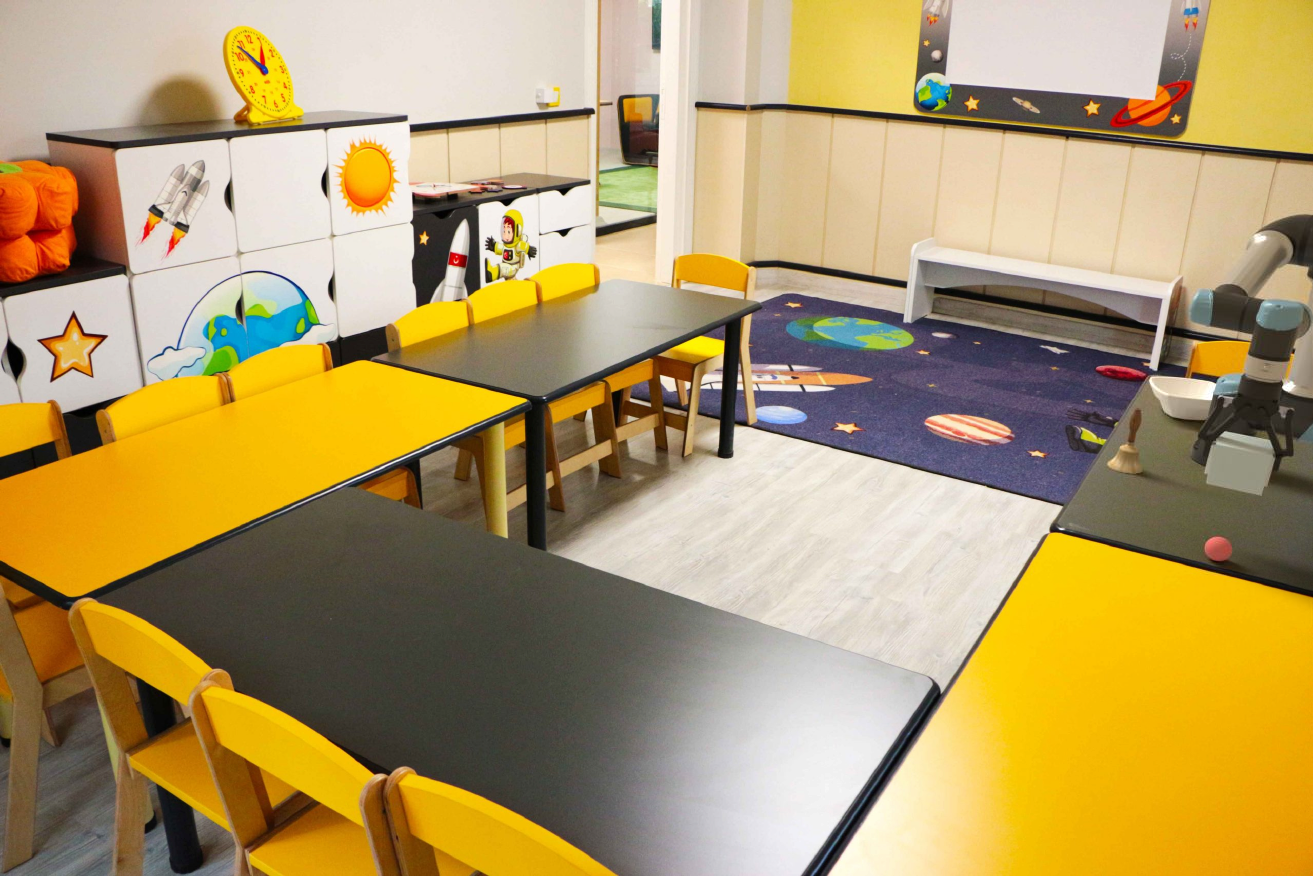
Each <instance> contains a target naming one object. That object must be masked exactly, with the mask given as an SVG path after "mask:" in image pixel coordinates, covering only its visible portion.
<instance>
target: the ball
mask: <svg viewBox="0 0 1313 876" xmlns="http://www.w3.org/2000/svg"><path fill="white" fill-rule="evenodd" d="M1204 553H1205V555H1206V556H1207V557H1208V558H1209V559H1210V560H1213V561H1216V562H1223V561H1225V560H1228V559H1229V558H1230V557H1231V556H1232V554H1233V547H1232V544H1231V542H1230V541H1229V540H1228V539H1227V538H1225V537H1221V536H1214V537H1211V538H1209V539H1208V540H1207V541H1206V542H1205V545H1204Z"/></svg>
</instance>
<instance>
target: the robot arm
mask: <svg viewBox="0 0 1313 876" xmlns="http://www.w3.org/2000/svg"><path fill="white" fill-rule="evenodd" d="M1245 250H1246V251H1245V252H1244V253H1243V255H1242V256H1240V259H1239V260H1237V262H1236V263H1235V264H1234V266H1233V267H1232V268H1231V269H1230V270H1229V271H1228V273H1227V274H1226V275H1225V277H1223V278H1222V280H1221V281H1220V282H1219V284H1218V285H1217V287H1215V289H1214V290H1213V289H1212V288H1209V289H1207V288H1205V289H1204V288H1201V289H1198V290H1196V292H1195V294H1194V295H1193V297H1192V299H1191V302H1190V306H1189V310H1188V312H1189V313H1188V318H1189V320H1190V321H1191V322H1192V323H1194V324H1198V325H1202V326H1205V327H1208V328H1209V327H1211V328H1215V329H1221V330H1227V331H1232V332H1238V333H1242V334H1246V335H1252V336H1251V340H1250V342H1249V343H1250V344H1249V347H1248V350H1247V354H1246V357H1245V362H1244V366H1243V369H1242V372H1243V373H1241V372H1236V373H1228V374H1224V375H1222V376H1220V377H1219V378H1218V379H1217V380H1216V383H1215V384H1216V386H1215V389H1214V391H1213V397H1212V401H1211V405H1210V409H1209V413H1208V417H1207V420H1205V422H1204V423H1203V425H1202V426H1201V427H1200V429H1199V431H1198V434H1197V438H1196V440H1195V442H1194V443H1193V445H1192V447H1191V449H1190V453H1189V454H1190V455H1189V457H1190V458H1191V459H1192V460H1193V461H1194V462H1196V463H1198V464H1200V465H1202V466H1205V469H1204V472H1203V473H1204V474H1206V475H1208V473H1209V469H1210V465H1211V461H1212V457H1213V453H1214V450H1215V446H1216V441H1217V438H1218V437H1219V436H1220V435H1221V434H1223V433H1224V432H1225V431H1226V432H1231V433H1236V434H1241V435H1246V436H1252V437H1257V433H1258V431H1259V432H1263V433H1266V434H1267V436H1268V440H1270V442H1271V444H1272V447H1273V457H1272V460H1271V464H1270V467H1269V471H1268V474H1267V478H1266V481H1265V485H1264V488H1266V487H1268V485H1269V482H1270V478H1271V475H1272V472H1275V473H1277V472H1278V471H1279V469H1280V465H1281V463H1282V459H1283V458H1285V457H1289V458H1291V457H1293V456H1294V455H1295V453H1294V452H1295V448H1294V447H1295V446H1294V440H1295V441H1297V442H1303V443H1304V442H1305V443H1309V444H1313V214H1308V213H1307V214H1306V213H1303V214H1300V213H1299V214H1295V215H1289V216H1286V217H1282V218H1280V219H1276V220H1274V221H1272V222H1270V223H1268V224H1267V225H1265V226H1263V227H1261V228H1260V229H1258V231H1256V232H1255V233H1254V234H1253V235H1252V236H1251V238H1250V239H1249V241H1248V242H1247V244H1246V248H1245ZM1286 265H1292V266H1299V267H1305V268H1307V274H1306V278H1308V280H1309V281H1310V282H1311V283H1312V284H1311V289H1310V291H1309V295H1308V300H1307V304H1304V303H1303V302H1301V301H1294V300H1288V299H1282V298H1281V299H1280V298H1279V299H1277V298H1272V299H1270V298H1269V299H1264V298H1263V299H1262V298H1258V297H1256V296H1257V295H1259V293H1260V292H1261V290H1262V289H1263V287H1265V285H1266V284H1267V282H1269V280H1270V279H1271V277H1272V276H1273V275H1274V274H1275V272H1276V271H1277V270H1279V269H1281V268H1283V267H1284V266H1286ZM1296 341H1297V342H1296ZM1295 343H1296V344H1295ZM1295 345H1296V347H1295ZM1294 347H1295V350H1294ZM1293 350H1294V354H1293V358H1292V353H1293ZM1291 358H1292V362H1291V365H1290V361H1291ZM1289 366H1291V367H1290V370H1289V373H1288V377H1286V376H1287V372H1288V369H1289ZM1278 436H1279V437H1282V438H1284V439H1285V446H1286V447H1285V448H1282V445H1281V442H1280V440H1279V437H1278Z"/></svg>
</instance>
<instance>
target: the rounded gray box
mask: <svg viewBox="0 0 1313 876" xmlns="http://www.w3.org/2000/svg"><path fill="white" fill-rule="evenodd" d="M1273 453H1274V449H1273V447H1272V444H1271V442H1270V439H1265V438H1260V437H1257V436H1256V437H1252V436H1246V435H1241V434H1236V433H1231V432H1226V431H1225V432H1224V433H1223V434H1221V435H1220V436H1219V437H1218V438H1217V441H1216V446H1215V450H1214V453H1213V457H1212V461H1211V465H1210V469H1209V473H1208V474H1207V477H1206V482H1205V484H1206V485H1211V486H1215V487H1220V488H1226V489H1229V490H1235V491H1238V492H1242V493H1243V492H1244V493H1248V494H1251V495H1252V494H1253V495H1257V496H1262V495H1263V491H1264V488H1265V486H1264V485H1265V481H1266V478H1267V474H1268V471H1269V467H1270V464H1271V460H1272V457H1273Z"/></svg>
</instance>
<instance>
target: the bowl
mask: <svg viewBox="0 0 1313 876" xmlns="http://www.w3.org/2000/svg"><path fill="white" fill-rule="evenodd" d="M1148 381H1149V384H1150V387H1151V389H1152V392H1153V393H1152V394H1154V397H1156V398H1157V399H1158V400H1159V402H1160V405H1161V408H1162V410H1163V412H1164V413H1165V414H1167V415H1168V416H1170V417H1171V418H1175V419H1183V420H1189V421H1190V420H1191V421H1192V420H1193V421H1206V420H1207V417H1208V413H1209V409H1210V405H1211V401H1212V397H1213V391H1214V389H1215V386H1216V383H1215V382H1212V381H1209V380H1203V379H1196V378H1189V377H1187V378H1186V377H1175V376H1151V377H1150V378H1149V379H1148Z"/></svg>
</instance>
